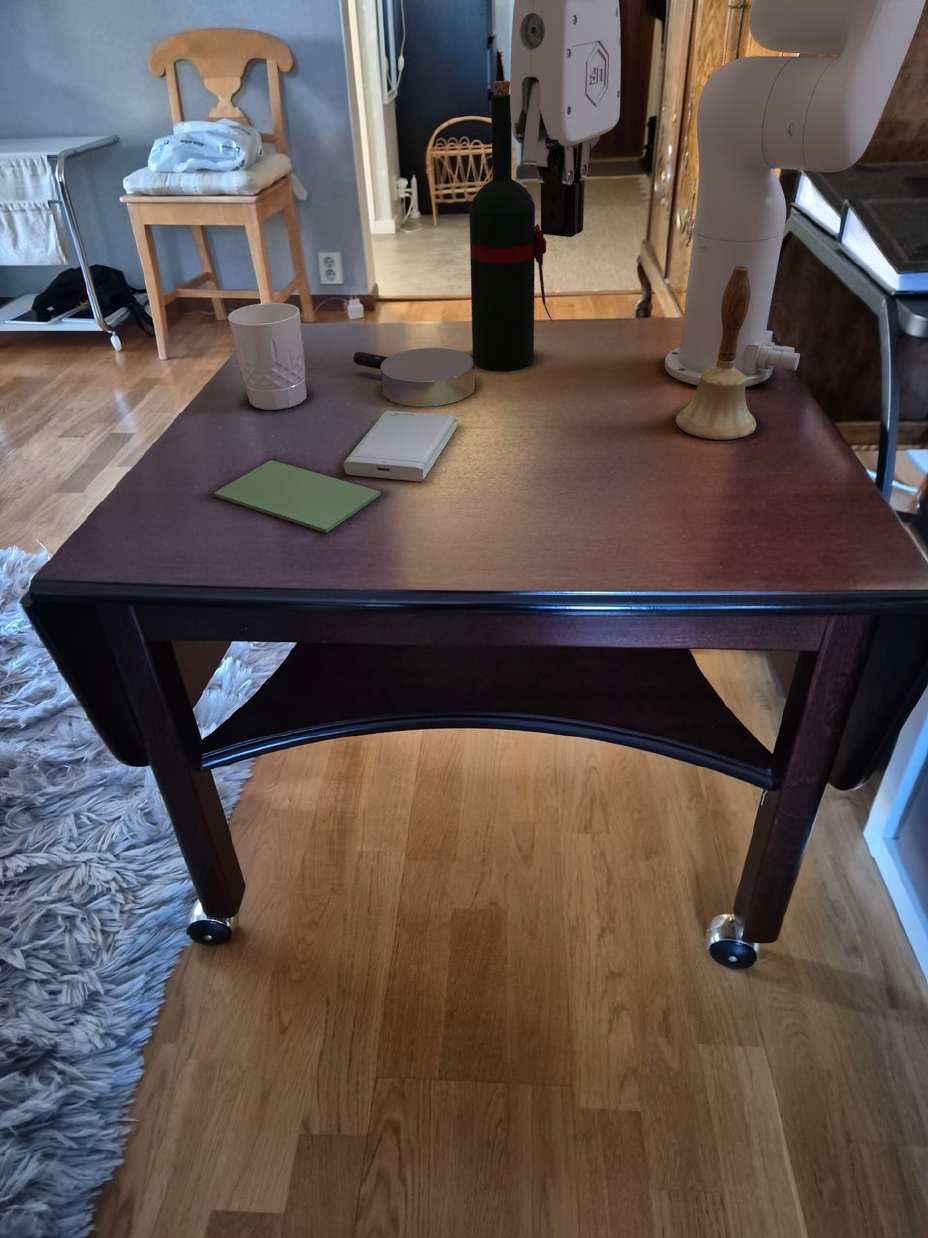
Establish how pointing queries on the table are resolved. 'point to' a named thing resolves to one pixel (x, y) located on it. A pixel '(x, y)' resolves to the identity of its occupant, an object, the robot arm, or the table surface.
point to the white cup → (270, 354)
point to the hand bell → (723, 375)
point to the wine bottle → (503, 255)
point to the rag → (298, 495)
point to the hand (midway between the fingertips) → (561, 232)
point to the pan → (423, 375)
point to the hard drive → (401, 446)
